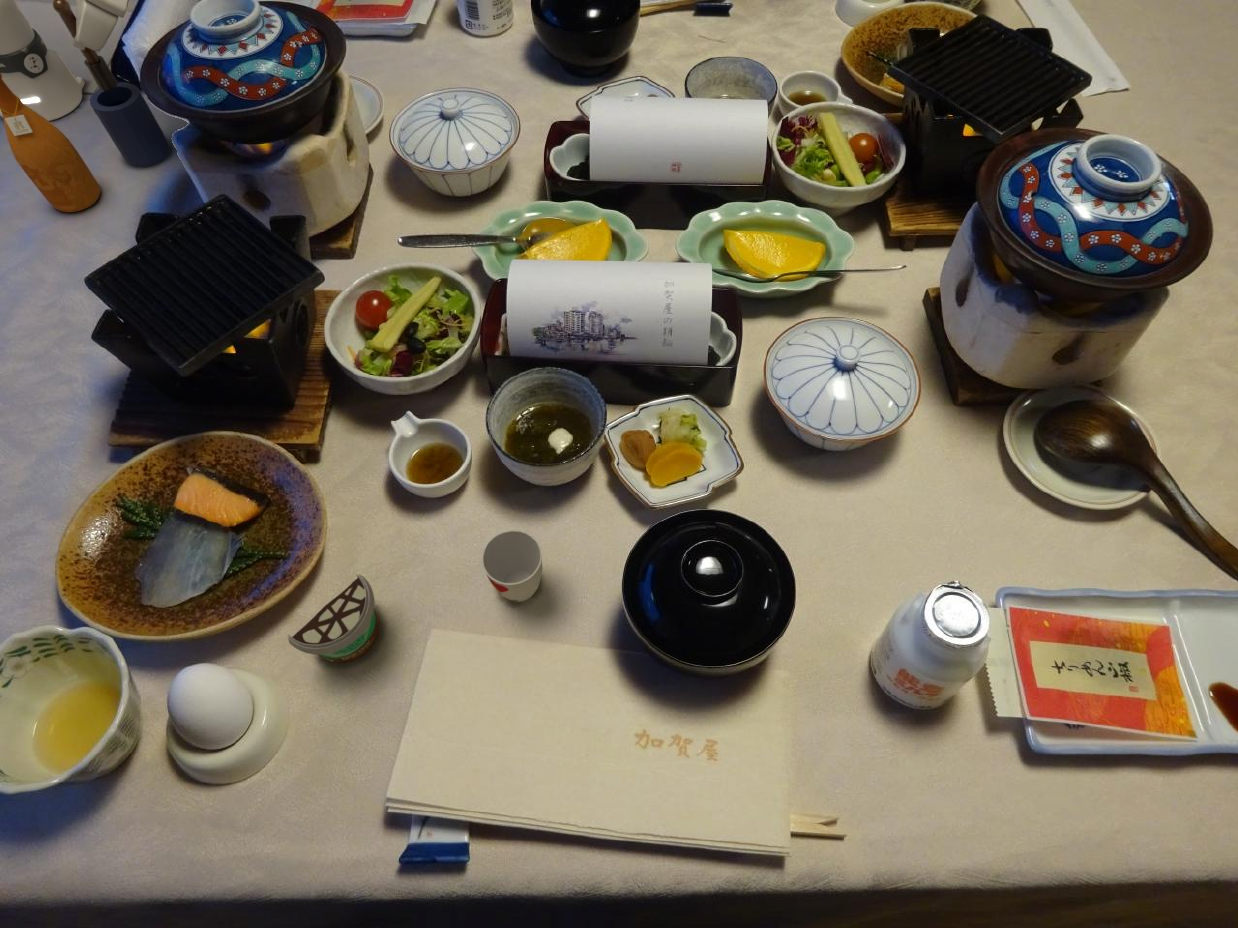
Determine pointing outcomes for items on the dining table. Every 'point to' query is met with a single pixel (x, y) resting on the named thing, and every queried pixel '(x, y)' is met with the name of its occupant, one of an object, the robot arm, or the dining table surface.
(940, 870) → the dining table surface
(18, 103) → the wine bottle
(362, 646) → the food container
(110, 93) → the dark gray hollow cylinder
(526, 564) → the cup
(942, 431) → the dining table surface
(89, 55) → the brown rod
